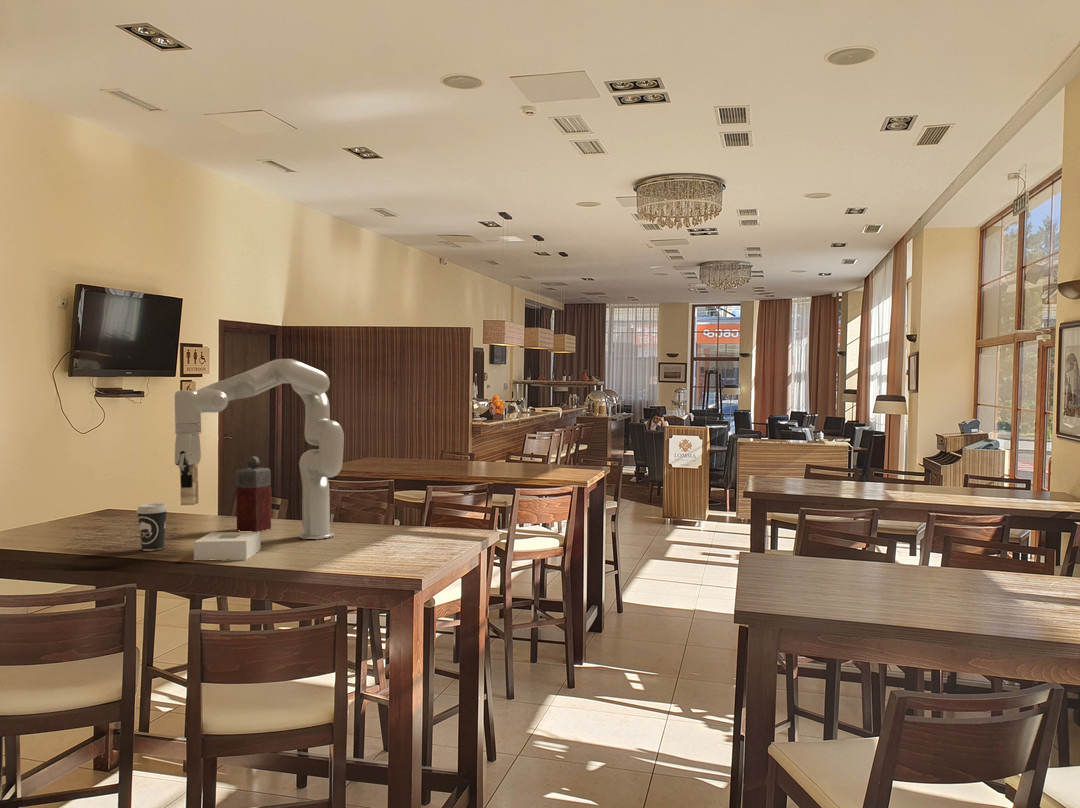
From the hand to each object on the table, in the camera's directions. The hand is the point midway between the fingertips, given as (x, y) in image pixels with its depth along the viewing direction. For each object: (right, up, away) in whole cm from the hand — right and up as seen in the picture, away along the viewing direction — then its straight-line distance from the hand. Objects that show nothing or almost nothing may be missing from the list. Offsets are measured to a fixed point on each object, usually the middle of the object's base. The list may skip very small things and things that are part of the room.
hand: (189, 485), depth 251 cm
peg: (0, -6, 0) cm, 6 cm away
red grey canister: (+3, -22, +49) cm, 54 cm away
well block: (+11, -23, +4) cm, 25 cm away
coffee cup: (-18, -23, +13) cm, 32 cm away
